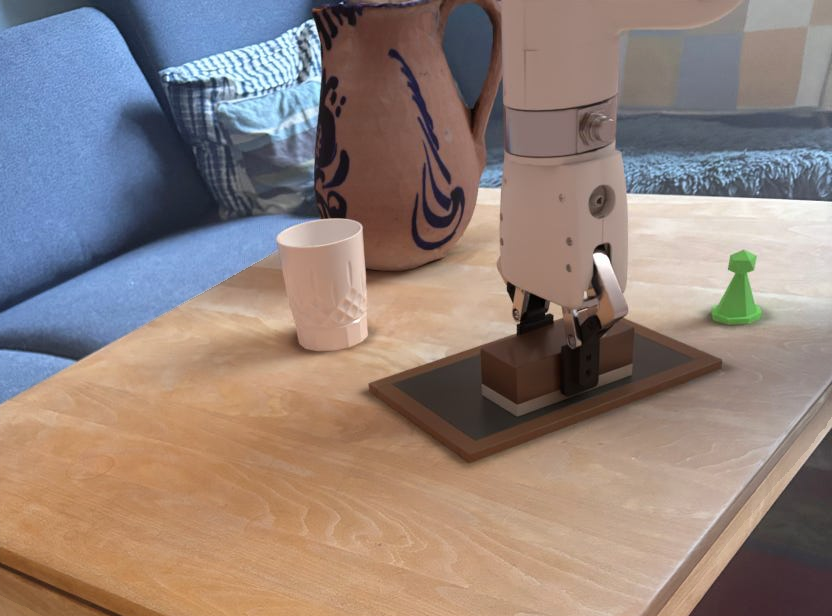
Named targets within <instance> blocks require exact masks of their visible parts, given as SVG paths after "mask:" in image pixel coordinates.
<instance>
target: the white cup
mask: <svg viewBox="0 0 832 616" xmlns="http://www.w3.org/2000/svg"><path fill="white" fill-rule="evenodd" d="M275 243H276V248H277V252H278V256H279V262H280V266H281V267H280V268H281V271H282V276H283V280H284V285H285V290H286V296H287V299H288V303H289V308H290V311H291V312H290V313H291V315H292V317H293V319H294V325H295V330H296V335H297V340H298V344H299V345H300V346H301V347H303V348H304V349H305V350H308V351H315V352H333V351H339V350H344V349H348V348H352V347H353V346H355V345H358V344H360V343H362V342H363V341H364V340H365V339H366V338H367V337H368V336H369V331H368V330H369V329H368V319H367V318H368V317H367V315H368V313H367V311H368V310H367V309H368V299H367V298H368V290H367V289H368V288H367V272H366V271H367V269H366V268H365V257H364V241H363V227H362V225H361V224H360V223H359V222H357V221H354V220H350V219H315V220H314V219H313V220H310V221H305V222H301V223H298V224H295V225H292V226H290V227H288V228H285V229H283V230H282V231H280V232H279V233H278V234H277V235H276V237H275Z"/></svg>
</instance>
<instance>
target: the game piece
mask: <svg viewBox="0 0 832 616" xmlns="http://www.w3.org/2000/svg"><path fill="white" fill-rule="evenodd" d="M757 258H758V255H756V254H754V253H752V252H750V251H748V250H746V249H741V250H740V251H737V252H735V253H732V254H730V255H729V261H728V266H727V271H729V272H731V273H734V275H733V276H732V278H731V280H730V282H729V284H728V286H727V287H726V290H725V291H724V293H723V296H722V297H721V299H720V300H719V302H718V304H717V305H715V306H713V307H711V312H710V313H711V318H712V321H714V322H717V323H721V324H723V325H727V326H736V325H737V326H739V325H750V324H752V323H754V322H756V321H759V320H760V319H762V314H763V312H762V309H761V306H760V305H758V304H756V303H755V298H754V295H753V291H752V287H751V283H750V280H749V275H748V273H752V272H754V271H755V268H756V261H757Z"/></svg>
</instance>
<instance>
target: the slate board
mask: <svg viewBox="0 0 832 616" xmlns="http://www.w3.org/2000/svg"><path fill="white" fill-rule="evenodd" d="M587 312H588V310H587V309H584V310H581V311H578V315H581V314H584V313H587ZM560 321H563V317H561V318H558V319H555V320H554V323H557V322H560ZM619 321H622V322H624V323H626V324H629V325H631V326H633V327H635V332H634V348H633V363H632V364H633V365H632V375H631V376H628V377H626V378H623V379H620V380H617V381H615V382H612V383H609V384H606V385H604V386H601V387H598V388H595V389H593V390H590V391H587V392H584V393H582V394H579V395H576V396H573V397H571V398H568V399H565V400H562V401H560V402H557V403H554V404H551V405H549V406H546V407H543V408H540V409H538V410H535V411H532V412H529V413H527V414H524V415H521V416H518V417H517V416H515V415H513V414H512V413H510V412H509V411H507V410H505V409H504V408H502V407H500V406H499V405H497V404H496V403H494V402H492V401H491V400H489V399H487V398H486V397H484V396H483V395H482V379H481V354H480V348H482V347H485V346H488V345H491V344H494V343H497V342H500V341H503V340H506V339H509V338H512V337H515V336H517V332H516V333H513V334H510V335H508V336H504V337H502V338H499V339H495V340H492V341H490V342H487V343H484V344H480V345H478V346H474V347H472V348H469V349H466V350H463V351H459V352H457V353H454V354H450V355H448V356H445V357H442V358H439V359H436V360H433V361H430V362H427V363H424V364H421V365H418V366H416V367H412V368H408V369H407V370H403V371H400V372H397V373H395V374H392V375H388V376H385V377H382V378H380V379H376V380H374V381H371V382H368V391H369V393H371V394H372V395H374V396H375V397H377V398H378V399H380V400H381V401H382V402H384V403H385V404H386V405H388V406H389V407H391V408H392V409H394V410H395V411H396V412H398V413H399V414H401V415H402V416H403V417H405V418H406V419H407V420H408V421H410V422H412V423H413V424H415V425H416V426H417V427H418V428H420V429H421V430H423V431H424V432H425V433H427V434H428V435H430V436H431V437H432V438H433V439H435V440H437V441H438V442H440V443H441V444H442V445H444V446H445V447H447V448H448V449H449V450H450V451H452V452H454V453H455V454H457V455H458V456H459V457H461V458H462V459H463V460H464V461H466V462H467V463H469V464H471V463H474V462H476V461H479V460H481V459H484V458H487V457H490V456H493V455H495V454H497V453H500V452H504V451H506V450H508V449H512V448H514V447H516V446H519V445H522V444H525V443H527V442H530V441H533V440H536V439H538V438H540V437H543V436H546V435H549V434H551V433H554V432H557V431H559V430H561V429H564V428H567V427H570V426H572V425H575V424H578V423H580V422H583V421H585V420H586V421H587V420H589V419H591V418H593V417H594V418H595V417H596V416H599V415H602V414H604V413H607V412H610V411H612V410H615V409H618V408H620V407H623V406H626V405H629V404H631V403H633V402H636V401H639V400H642V399H644V398H647V397H650V396H652V395H655V394H658V393H660V392H662V391H663V392H664V391H666V390H668V389H671V388H674V387H676V386H679V385H681V384H684V383H687V382H689V381H692V380H695V379H698V378H700V377H703V376H705V375H708V374H711V373H714V372H716V371H719V370H722V368H723V359H722V358H719V357H717V356H715V355H712V354H709V353H708V352H705V351H703V350H700V349H699V348H696V347H693V346H691V345H688V344H686V343H684V342H682V341H680V340H677V339H674V338H672V337H670V336H667V335H665V334H664V333H663V334H662V333H660V332H658V331H655V330H653V329H651V328H648V327H646V326H644V325H641V324H639V323H637V322H634V321H632V320H630V319H627V318H625V317H623V318H622V319H621V320H619Z"/></svg>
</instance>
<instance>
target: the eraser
mask: <svg viewBox="0 0 832 616" xmlns="http://www.w3.org/2000/svg"><path fill="white" fill-rule="evenodd" d="M578 316H579V323H580V325H581V324H582V323H583V322H584V321H585V320H586V319H587V318H588V312H587V313H584V314H581V315H578ZM634 332H635V327H633V326H631V325H629V324H626V323H624V322H622V321H618V322H617V323H615V324H614V325H613V327H611V328H610V329H609V330H608V331H607V332H606V337H605V338H604V339H602V340H600V356H599V381H598V384H597V386H596V387H594V388H591V389H588V390H586V391H583V392H580V393H577V394H575V395H572V396H569V397H566V396H564V395H563V394H561V346H564V345H567V339H566V333H565V327H564V320H563V321H560V322H557V323H554V324H551V325H548V326H545V327H542V328H539V329H536V330H533V331H530V332H527V333H524V334H521V335H518V336H515V337H512V338H509V339H506V340H503V341H500V342H497V343H494V344H491V345H488V346H485V347H482V348H480V354H481V379H482V395H483V396H484V397H486V398H487V399H489V400H491V401H492V402H494V403H496V404H497V405H499V406H500V407H502V408H504V409H505V410H507V411H509V412H510V413H512V414H513V415H515V416H517V417H518V416H521V415H524V414H527V413H529V412H532V411H535V410H538V409H540V408H543V407H546V406H549V405H551V404H554V403H557V402H560V401H562V400H565V399H568V398H571V397H573V396H576V395H579V394H582V393H584V392H587V391H590V390H593V389H595V388H598V387H601V386H604V385H606V384H609V383H612V382H615V381H617V380H620V379H623V378H626V377H628V376H631V375H632V365H633V364H632V363H633V348H634Z"/></svg>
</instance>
